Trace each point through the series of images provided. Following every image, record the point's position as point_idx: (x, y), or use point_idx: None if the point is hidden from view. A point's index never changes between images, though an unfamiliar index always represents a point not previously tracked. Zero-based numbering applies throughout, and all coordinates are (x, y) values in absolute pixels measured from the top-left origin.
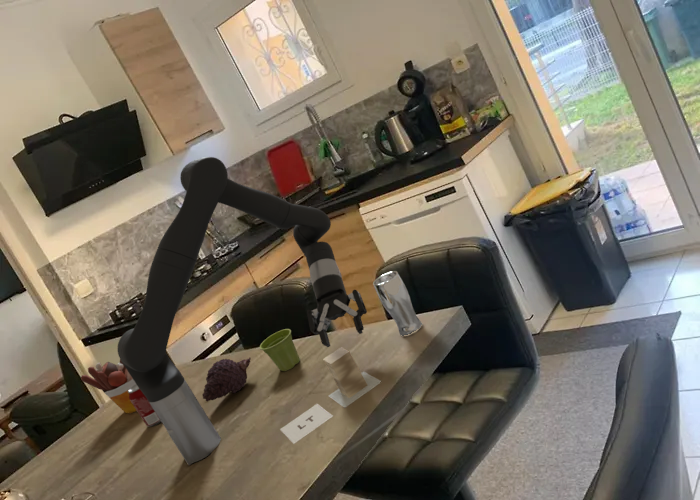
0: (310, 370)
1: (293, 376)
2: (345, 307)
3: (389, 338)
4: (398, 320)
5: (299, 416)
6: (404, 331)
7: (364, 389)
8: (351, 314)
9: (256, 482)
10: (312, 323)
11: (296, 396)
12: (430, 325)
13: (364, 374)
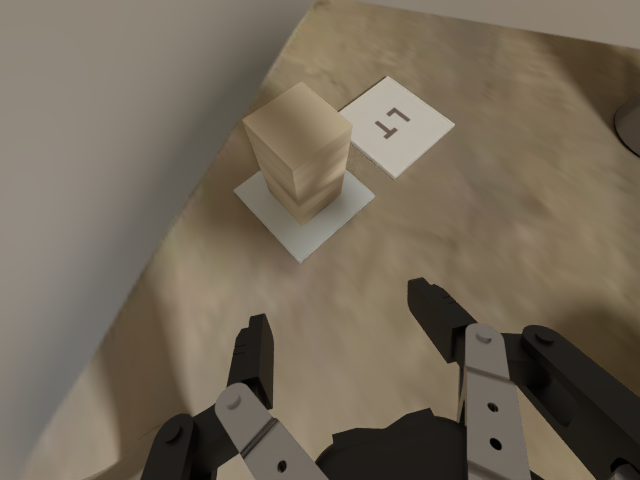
0: None
1: None
2: (276, 462)
3: None
4: (142, 465)
5: (423, 148)
6: None
7: None
8: (257, 398)
9: (419, 27)
10: (579, 378)
11: (496, 246)
12: (95, 459)
13: (291, 245)
